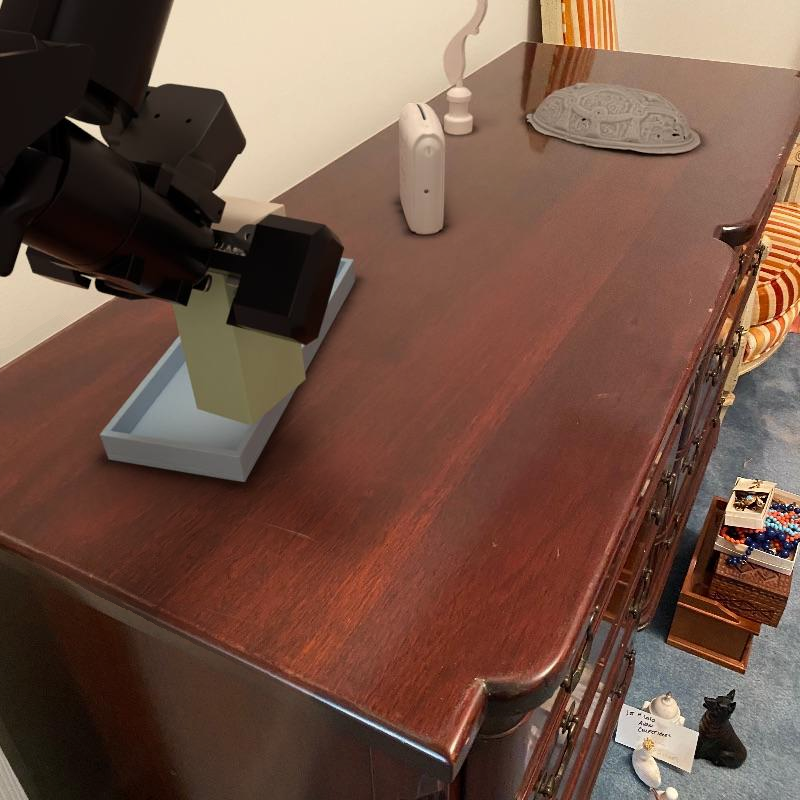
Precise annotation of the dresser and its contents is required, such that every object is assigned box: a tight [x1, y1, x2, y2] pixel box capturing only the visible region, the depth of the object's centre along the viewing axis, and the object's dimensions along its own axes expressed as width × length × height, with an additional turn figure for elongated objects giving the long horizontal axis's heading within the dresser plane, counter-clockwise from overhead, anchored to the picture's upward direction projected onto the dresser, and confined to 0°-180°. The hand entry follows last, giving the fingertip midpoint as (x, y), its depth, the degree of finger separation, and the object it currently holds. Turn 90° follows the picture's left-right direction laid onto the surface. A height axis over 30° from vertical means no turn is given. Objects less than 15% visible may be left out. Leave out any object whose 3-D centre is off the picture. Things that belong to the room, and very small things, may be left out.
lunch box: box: [171, 195, 307, 425], centre depth 50 cm, size 7×5×13 cm
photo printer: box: [398, 101, 446, 235], centre depth 85 cm, size 10×4×12 cm, turn 8°
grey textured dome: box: [525, 82, 701, 155], centre depth 107 cm, size 16×25×7 cm, turn 54°
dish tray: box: [99, 257, 356, 483], centre depth 67 cm, size 29×11×3 cm, turn 166°
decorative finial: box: [442, 0, 489, 136], centre depth 102 cm, size 6×4×25 cm
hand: (249, 294), depth 51 cm, fingers closed on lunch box, 5 cm apart
